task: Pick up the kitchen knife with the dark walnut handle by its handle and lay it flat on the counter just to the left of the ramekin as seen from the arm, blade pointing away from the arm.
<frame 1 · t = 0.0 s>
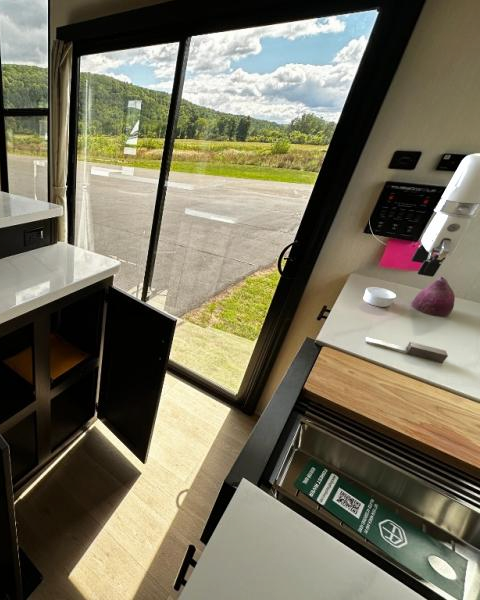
hand: (421, 268, 89), 27 cm above the countertop, tool pointing down, fingers open, 9 cm apart
vegetable: (429, 309, 118), on the countertop
ramekin: (375, 302, 123), on the countertop
knife: (401, 350, 99), on the countertop
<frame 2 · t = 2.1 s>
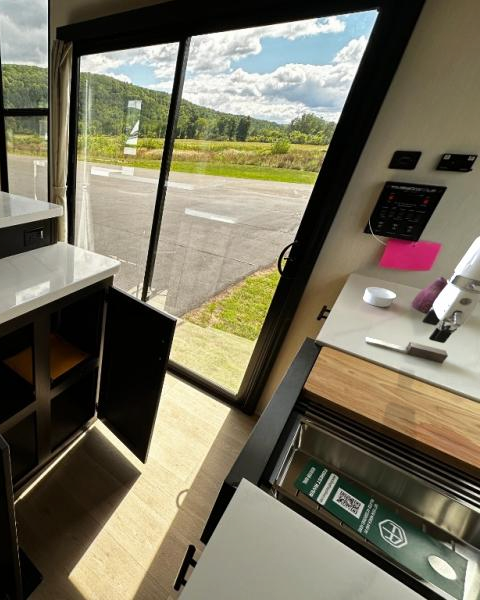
hand: (432, 332, 93), 9 cm above the countertop, tool pointing down, fingers open, 9 cm apart
nothing on the countertop moved.
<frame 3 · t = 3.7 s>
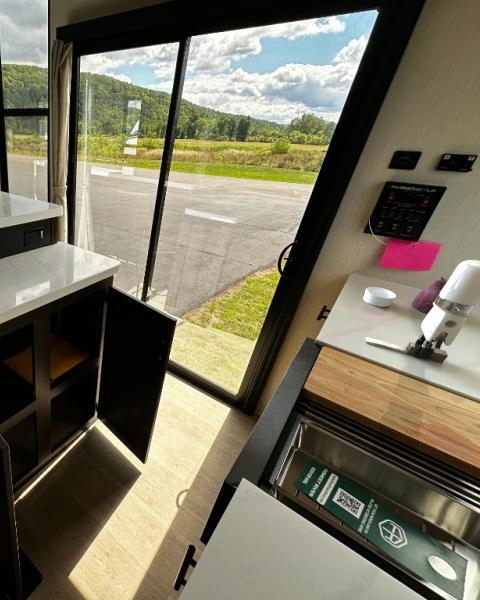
hand: (419, 353, 97), 0 cm above the countertop, tool pointing down, fingers closed on knife, 2 cm apart
knife: (401, 350, 99), on the countertop, touching gripper
everything else where it was.
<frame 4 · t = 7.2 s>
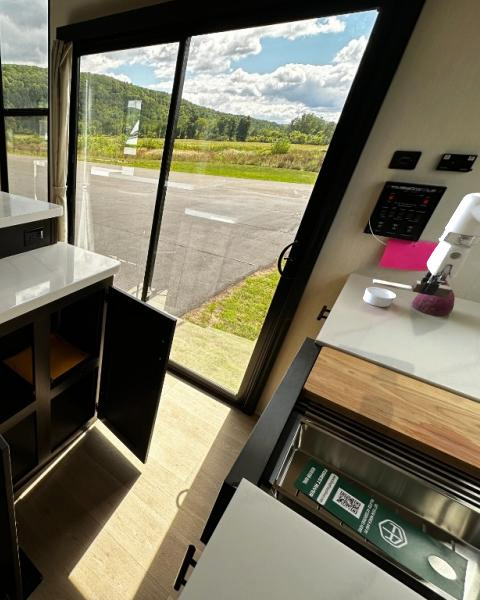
hand: (424, 291, 102), 14 cm above the countertop, tool pointing down, fingers closed on knife, 2 cm apart
knife: (407, 289, 104), point 14 cm above the countertop, touching gripper
everything else where it was.
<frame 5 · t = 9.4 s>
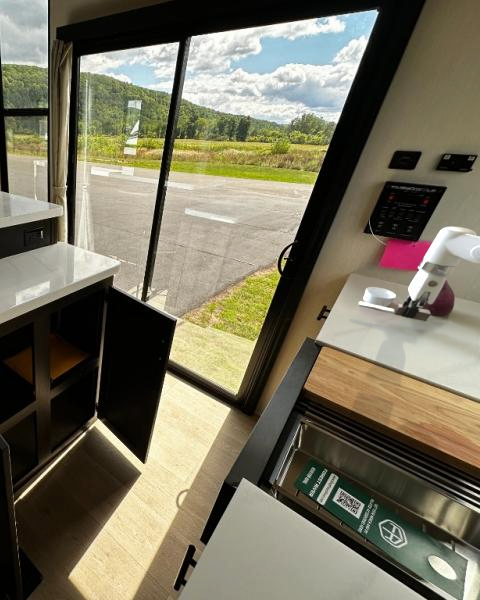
hand: (406, 314, 109), 4 cm above the countertop, tool pointing down, fingers closed on knife, 2 cm apart
knife: (390, 311, 111), point 3 cm above the countertop, touching gripper
everything else where it was.
when the fingers open (0 cm above the countertop, at t = 10.6 s): knife stays where it is, on the countertop.
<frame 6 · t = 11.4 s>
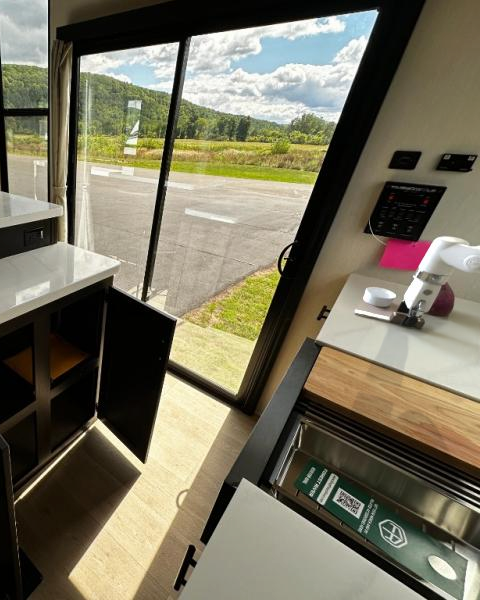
hand: (404, 319, 110), 2 cm above the countertop, tool pointing down, fingers open, 9 cm apart
knife: (385, 319, 113), on the countertop
everything else where it was.
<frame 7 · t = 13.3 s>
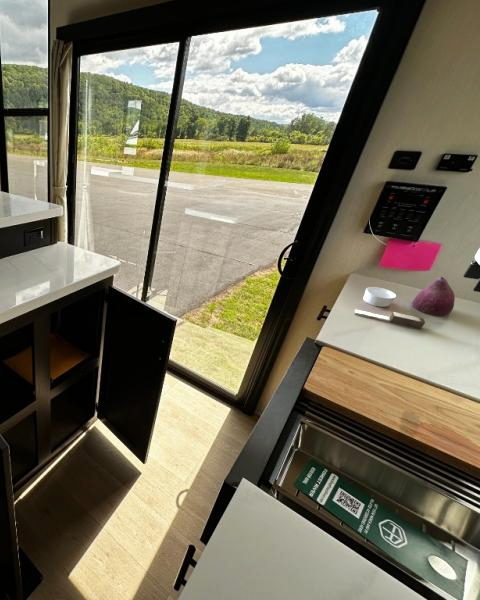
hand: (475, 284, 90), 22 cm above the countertop, tool pointing down, fingers open, 9 cm apart
nothing on the countertop moved.
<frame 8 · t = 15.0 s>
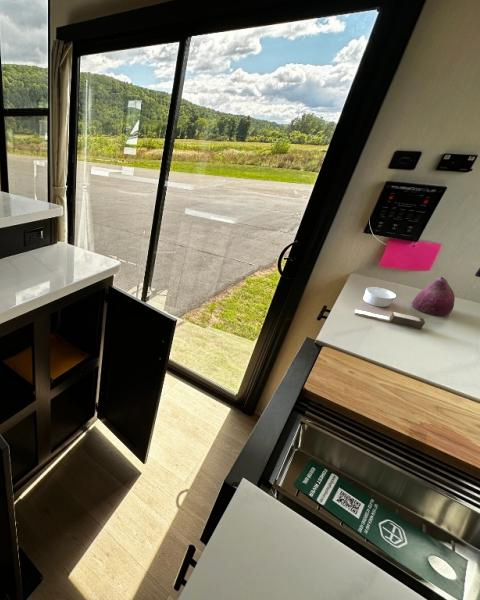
nothing on the countertop moved.
at the end: knife inside the target area on the countertop beside the ramekin (0.2 cm from its centre), on the countertop; the gripper is holding nothing; knife moved 18.2 cm from its start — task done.
